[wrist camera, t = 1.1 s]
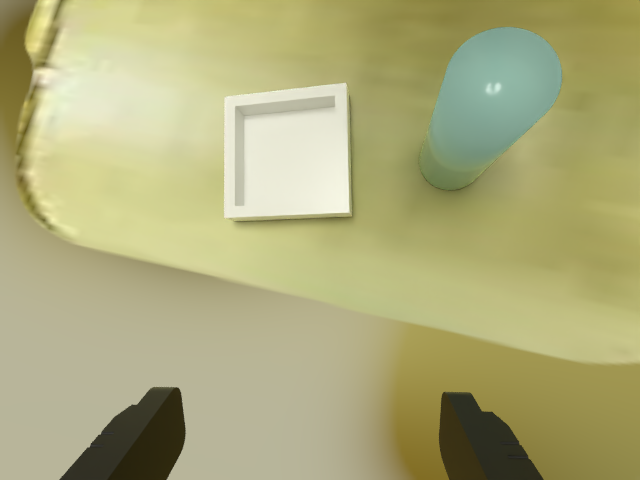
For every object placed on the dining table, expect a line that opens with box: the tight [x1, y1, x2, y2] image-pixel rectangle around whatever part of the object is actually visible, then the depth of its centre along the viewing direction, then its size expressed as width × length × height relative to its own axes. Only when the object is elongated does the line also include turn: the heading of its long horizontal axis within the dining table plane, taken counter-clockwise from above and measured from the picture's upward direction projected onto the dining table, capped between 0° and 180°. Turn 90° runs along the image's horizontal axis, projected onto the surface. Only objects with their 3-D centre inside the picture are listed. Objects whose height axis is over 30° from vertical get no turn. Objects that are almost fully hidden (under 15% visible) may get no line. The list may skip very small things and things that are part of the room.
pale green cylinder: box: [419, 27, 562, 190], centre depth 23 cm, size 5×5×13 cm
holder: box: [224, 83, 352, 221], centre depth 31 cm, size 11×11×2 cm
